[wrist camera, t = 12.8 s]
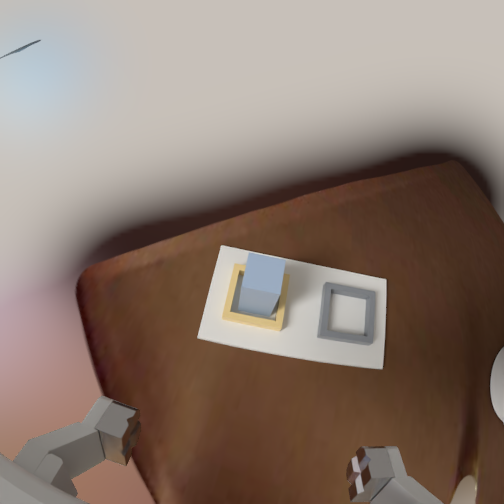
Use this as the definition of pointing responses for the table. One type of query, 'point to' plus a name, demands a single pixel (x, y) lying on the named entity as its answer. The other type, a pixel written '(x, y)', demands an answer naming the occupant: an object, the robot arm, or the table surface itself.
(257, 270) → the plug
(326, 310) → the white board with frames
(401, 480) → the robot arm
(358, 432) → the table surface
